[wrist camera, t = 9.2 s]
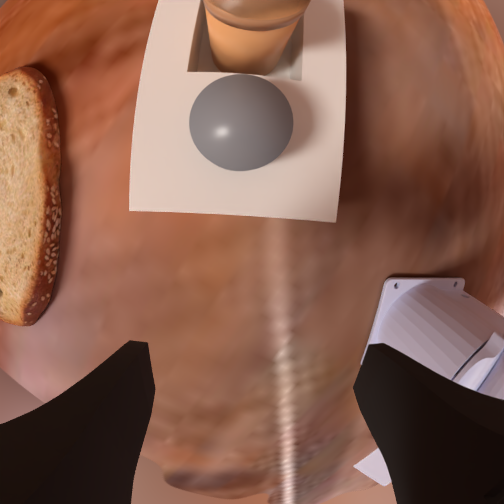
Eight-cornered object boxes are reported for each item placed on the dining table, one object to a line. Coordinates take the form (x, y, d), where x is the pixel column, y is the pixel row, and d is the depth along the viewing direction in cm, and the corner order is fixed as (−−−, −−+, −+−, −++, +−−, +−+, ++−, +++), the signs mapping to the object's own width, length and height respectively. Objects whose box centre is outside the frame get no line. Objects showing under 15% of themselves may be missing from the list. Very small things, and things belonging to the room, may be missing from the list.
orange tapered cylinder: (281, 30, 12) (311, -36, 6) (278, 84, 14) (312, 29, 7) (215, 24, 12) (209, -46, 5) (207, 79, 13) (193, 18, 6)
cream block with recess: (324, 17, 13) (355, -25, 7) (314, 212, 16) (352, 231, 11) (175, 4, 12) (160, -43, 6) (149, 202, 15) (113, 217, 10)
